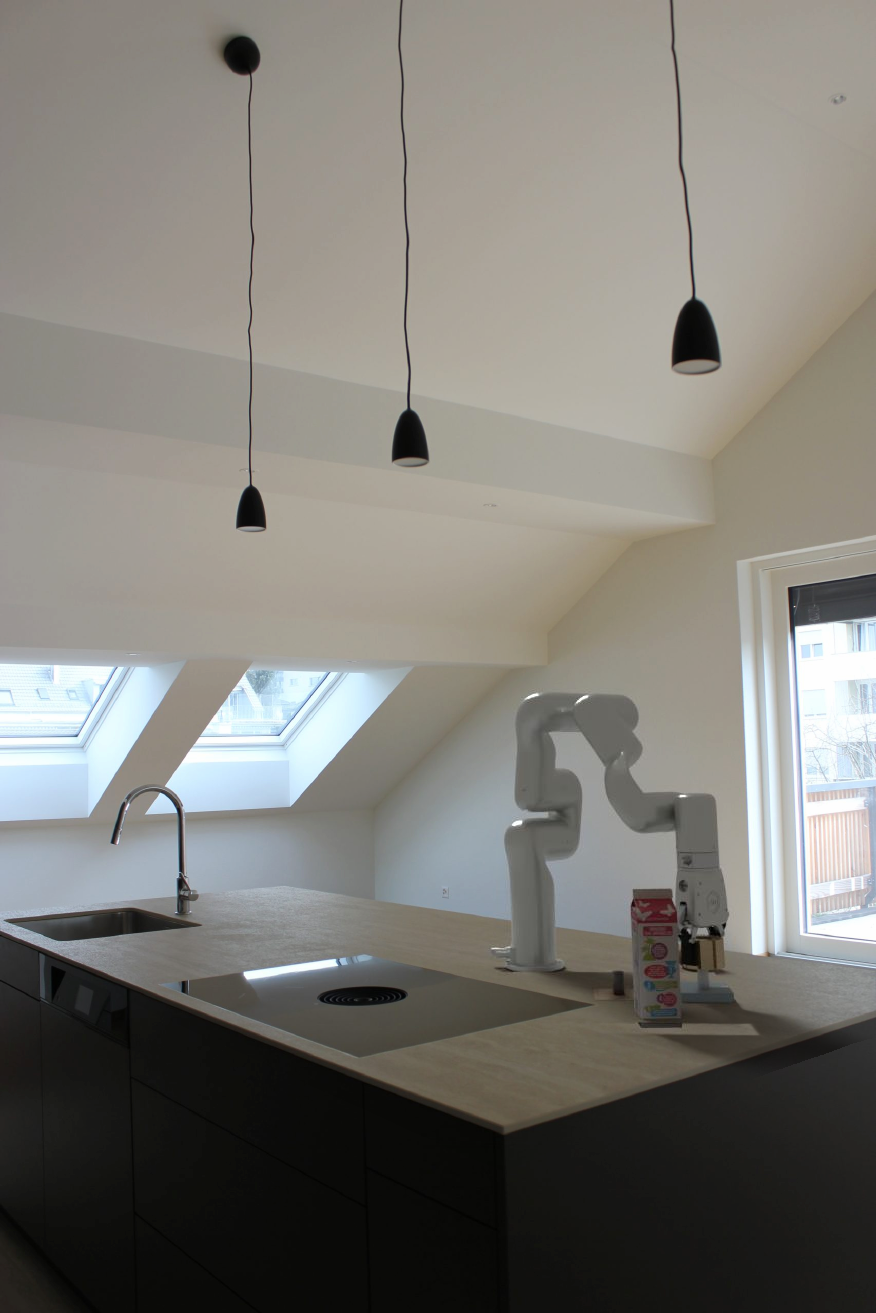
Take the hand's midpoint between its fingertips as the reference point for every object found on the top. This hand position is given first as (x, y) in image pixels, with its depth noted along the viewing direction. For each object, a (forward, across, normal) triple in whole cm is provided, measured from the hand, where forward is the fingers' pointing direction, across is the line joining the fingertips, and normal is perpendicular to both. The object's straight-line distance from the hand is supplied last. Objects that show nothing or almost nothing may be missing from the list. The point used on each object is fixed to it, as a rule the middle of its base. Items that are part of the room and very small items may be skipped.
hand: (703, 961), depth 182 cm
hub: (+8, 0, 0) cm, 8 cm away
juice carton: (+8, -16, -2) cm, 18 cm away
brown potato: (+8, +26, +20) cm, 34 cm away
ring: (+1, 0, 0) cm, 1 cm away
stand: (+7, -10, +12) cm, 17 cm away
